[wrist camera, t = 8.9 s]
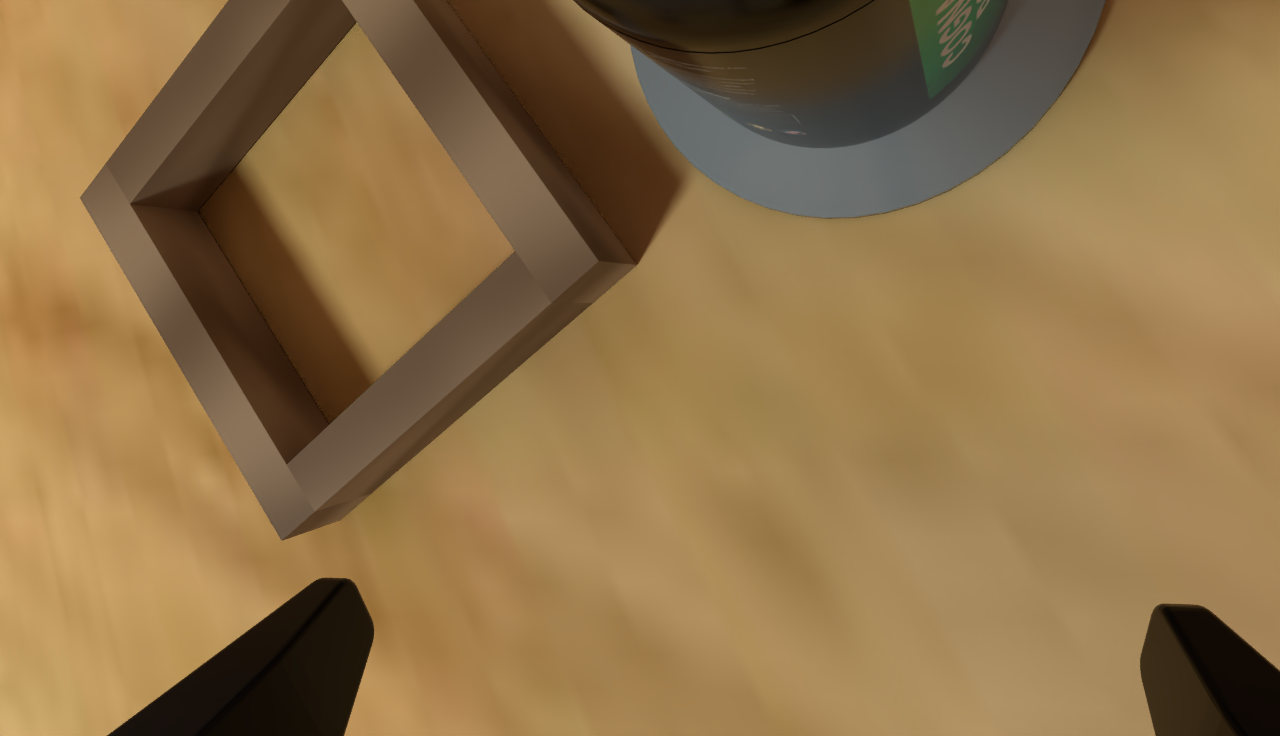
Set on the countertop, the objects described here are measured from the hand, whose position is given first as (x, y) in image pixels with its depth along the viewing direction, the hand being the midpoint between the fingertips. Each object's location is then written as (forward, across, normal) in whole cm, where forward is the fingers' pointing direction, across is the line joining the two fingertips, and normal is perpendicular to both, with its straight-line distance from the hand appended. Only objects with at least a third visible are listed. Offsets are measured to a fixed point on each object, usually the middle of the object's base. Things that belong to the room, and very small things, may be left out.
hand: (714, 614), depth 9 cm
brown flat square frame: (+13, +11, 0) cm, 18 cm away
